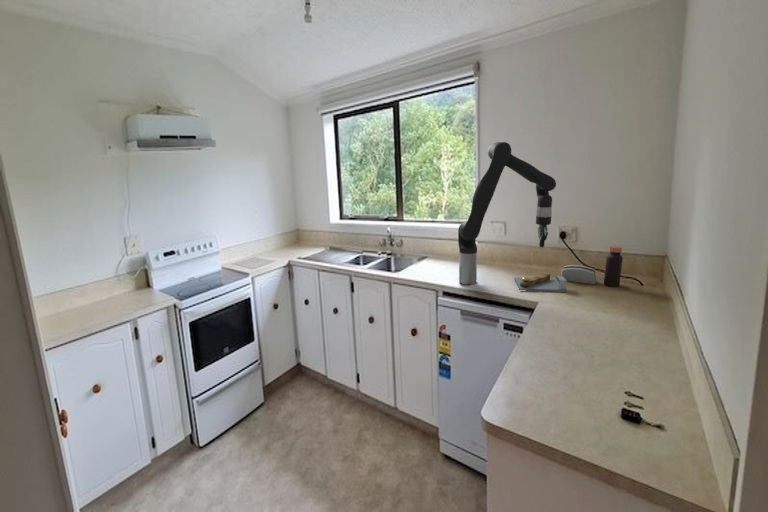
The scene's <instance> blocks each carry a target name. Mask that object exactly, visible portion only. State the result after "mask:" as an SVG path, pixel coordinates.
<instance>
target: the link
mask: <svg viewBox="0 0 768 512" xmlns="http://www.w3.org/2000/svg"><path fill="white" fill-rule="evenodd" d="M529 278H530V279H528V281H526V282H525V281H522V280H521V281H520V286H521V287H529V286H530V285H534V284H537V283H541V282H544V281H547V280H550V278H551V274H549V273H544V274H541V275H538V276H534V277H529Z"/></svg>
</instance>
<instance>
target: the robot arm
mask: <svg viewBox="0 0 768 512" xmlns="http://www.w3.org/2000/svg"><path fill="white" fill-rule="evenodd" d="M487 155H488V158H489V159H490V163H489V166H488V167H487V170H486V172H485V173H484V174H483V175H482V177H481V178H480V180H479V181H478V183H477V184H476V186H475V187H476V188H475V190H474V193H473V196H472V200H471V201H472V203H471V210H470V213H469V216H468V218H467V220H465V221H463V222H461V223H460V224H459V227H458V230H457V232H458V233H457V235H458V236H457V237H458V238H457V240H458V241H457V243H458V249H459V256H458V257H459V260H458V261H459V263H458V264H459V265H458V266H459V267H458V273H459V274H458V277H459V278H458V284H459V283H462V284H461V285H464V284H473V285H475V284H474V283H476V284H477V281H478V280H477V279H478V278H477V277H478V276H477V273H478V271H477V270H478V245H477V242H476V239H477V238H478V237H479V235H480V232H481V229H482V226H483V225H482V224H483V221H484V219H485V215H486V214H487V211H488V209H489V206H490V203H491V201H492V199H493V197H494V194H495V191H496V188H497V186H498V184H499V181H500V178H501V175H502V174H503V172H504V169H505V167H507V168H509V169H511V171H514V172H515V173H517V174H518V175H519V176H521V177H522V178H524V179H525V180H527V182H530V183H532V184H535V190H536V191H535V192H536V196H537V205H536V213H535V215H536V216H535V224H536V225H539V226H538V227H537V234H538V235H537V236H538V239H539V243H538V246H539V248H545V243H546V242H545V241H546V240H547V238H548V235H549V232H548V229H549V228H548V225H551V224H552V213H553V210H552V209H553V208H552V206H553V197H552V196H551V195H550V193H549V192H551V191H553V190H554V189H555V188H556V186H557V180H555V178H553V176H550V175H548V174H546V173H545V172H542V171H540V170H539V168H536V167H535V166H534V165H532V164H531V163H529V162H527V161H525V160H523V159H521V158H518V157H516V156H515V155H513V154H512V146H511V144H510V143H508V142H505V141H500V142H499V141H498V142H494V143H492V144H490V146H489V147H488V149H487Z"/></svg>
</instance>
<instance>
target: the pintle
mask: <svg viewBox="0 0 768 512" xmlns="http://www.w3.org/2000/svg"><path fill="white" fill-rule="evenodd" d="M521 278H522V281H525V282H526V281H528V278H529V277H526V276H523V277H521Z"/></svg>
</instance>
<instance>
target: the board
mask: <svg viewBox="0 0 768 512" xmlns="http://www.w3.org/2000/svg"><path fill="white" fill-rule="evenodd" d="M522 278H523V277H516V276H515V277H514V278H513V281H514V283H515V285H516V286H518V287H517V289H518V288H519V289H518V291H519V290H526V291H525V292H539V291H546V292H548V293H549V292H550V293H552V292H553V293H568V289H567V288H566V290H561V289H558V287H559V282H558V280H557V279H556V277H550V280H547V281H544V282H541V283H537V284H534V285H530V286H529V287H521V286H520V281H521V280H522ZM527 278H528V279H530V278H531V277H527ZM546 292H545V293H546Z"/></svg>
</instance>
